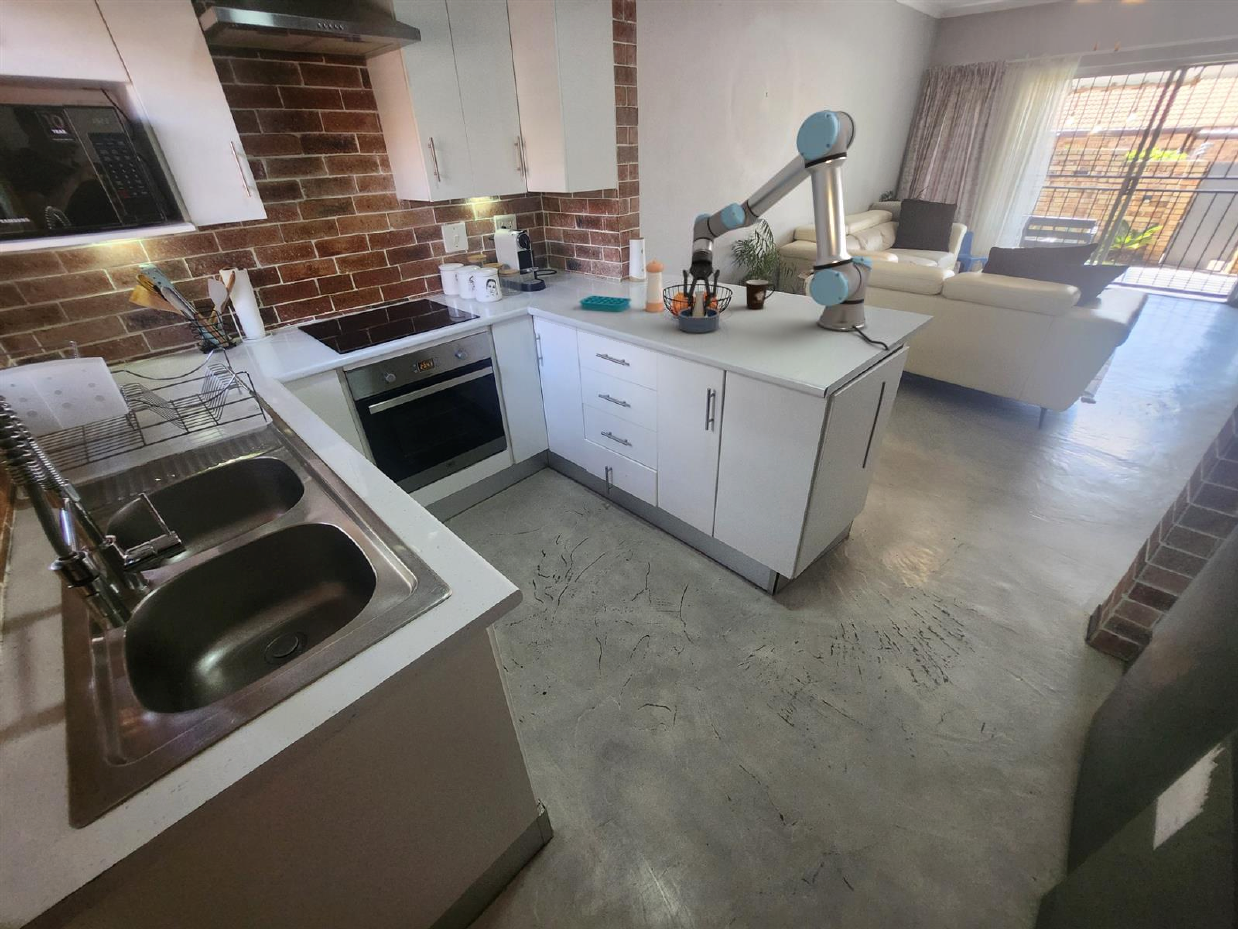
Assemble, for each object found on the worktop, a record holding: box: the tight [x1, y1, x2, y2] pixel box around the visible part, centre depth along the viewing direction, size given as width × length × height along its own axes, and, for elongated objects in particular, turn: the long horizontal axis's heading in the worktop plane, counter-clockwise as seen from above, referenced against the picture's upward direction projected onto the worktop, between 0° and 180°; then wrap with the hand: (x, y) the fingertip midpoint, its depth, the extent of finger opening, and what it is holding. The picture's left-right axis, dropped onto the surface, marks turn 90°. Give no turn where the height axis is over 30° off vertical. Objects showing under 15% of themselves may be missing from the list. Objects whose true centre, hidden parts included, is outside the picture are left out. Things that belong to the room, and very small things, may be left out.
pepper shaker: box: [645, 260, 665, 313], centre depth 204 cm, size 7×7×19 cm
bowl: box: [677, 307, 721, 334], centre depth 183 cm, size 15×15×6 cm
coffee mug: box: [745, 279, 776, 311], centre depth 202 cm, size 12×9×10 cm
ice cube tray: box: [578, 295, 632, 313], centre depth 215 cm, size 12×20×3 cm, turn 62°
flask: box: [689, 290, 708, 318], centre depth 181 cm, size 7×7×10 cm
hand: (698, 313), depth 179 cm, fingers closed on flask, 4 cm apart
